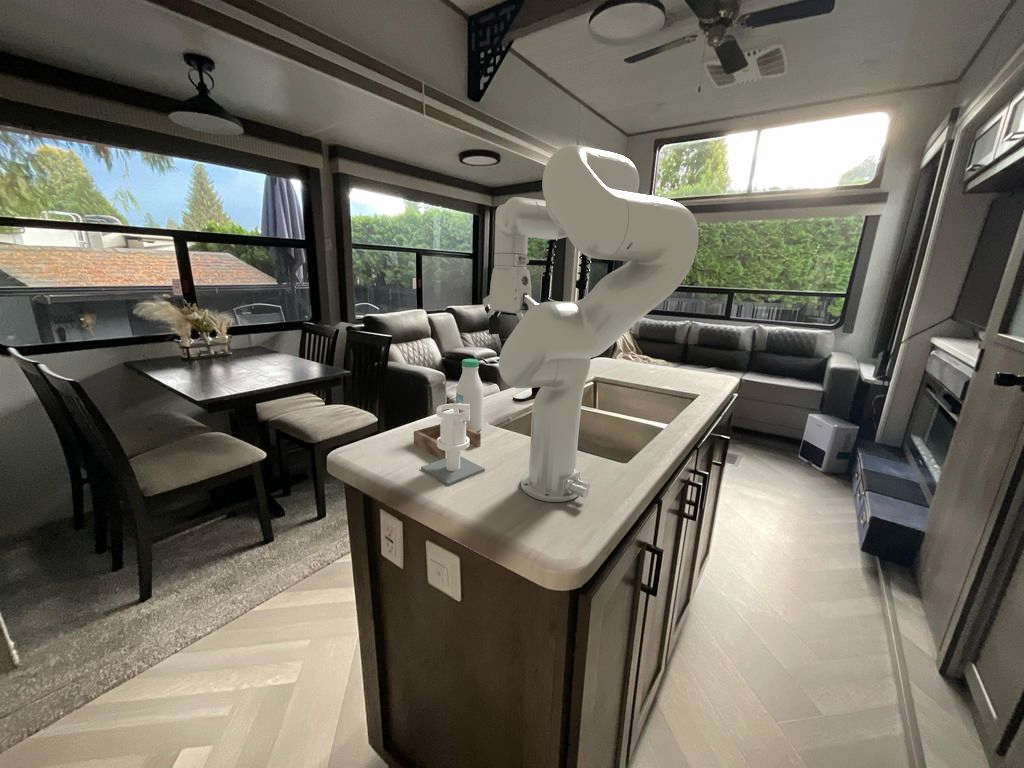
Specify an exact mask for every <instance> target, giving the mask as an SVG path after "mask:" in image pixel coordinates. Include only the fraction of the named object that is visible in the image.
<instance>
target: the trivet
mask: <svg viewBox="0 0 1024 768" xmlns="http://www.w3.org/2000/svg"><path fill="white" fill-rule="evenodd" d="M420 470H421V471H423V472H425V473H426V474H428V475H430V476H431V477H433V478H435V479H437V480H438V481H439V482H442V483H443V484H445V485H446V486H448V487H450V486H451V485H454V484H456V483H459V482H462V481H464V480H466V479H467V480H468V478H471V477H473V476H476V475H478V474H481V473H483V472H485V471H486V469H485V468H484V467H482V466H481V465H478V464H477V463H474V462H473V461H470V460H469V459H467V458H466V457H463V456H461V455H460V469H459V470H456V471H450V470H447V469H446V458H445V459H440V460H439V459H438V460H437V461H434V462H430V463H428V464H425V465H422V466H420Z"/></svg>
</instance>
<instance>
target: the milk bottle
mask: <svg viewBox="0 0 1024 768" xmlns="http://www.w3.org/2000/svg"><path fill="white" fill-rule="evenodd" d="M479 364H480V363H479V360H478V359H476V358H465V359H462V360H461V368H462V373H461V375H460V377H459V380H458V383H457V385H456V389H455V391H456V392H455V393H456V394H455V404H457V403H461V404H470V420H469V421H463V424H464V423H465V422H466V427H467V428H469V429H472V430H474V431H476V432H481V431H482V429H483V428H484V398H485V397H484V395H485V394H484V385H483V382H482V380H481V377H480V375H479V368H480V367H479ZM461 412H465V411H464V410H460V409H459V413H461Z"/></svg>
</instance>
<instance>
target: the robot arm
mask: <svg viewBox="0 0 1024 768" xmlns="http://www.w3.org/2000/svg"><path fill="white" fill-rule="evenodd" d="M541 184H542V193H543V198H544V199H537V198H528V197H521V196H517V197H516V196H514V197H510V198H509V199H508V200H506V202H505V203H503V204H499V206H497V208H496V210H495V222H494V223H495V225H494V226H495V227H494V228H495V229H494V256H493V257H494V258H493V260H494V262H493V263H494V266H493V267H494V268H492V273H491V278H490V279H491V280H490V287H489V295H487V296H485V297H484V298H483V299H482V303H483V305H484V311H485V313H486V317H487V318H488V335H490V336H492V335H493V336H494V335H499V334H500V328H501V327H500V326H501V323H500V322H501V321H500V320H501V318H500V317H499V316H500V314H501V313H510V314H515V315H516V316H517V318H518V320H519V321H518V322H517V324H516V325H515V327H514V328H513V330H512V332H511V333H510V334H509V335H508V337H507V339H506V341H505V342H504V344H503V346H502V348H501V351H500V353H499V357H498V358H499V359H498V371H499V374H500V377H501V378H502V380H503V381H504V383H505V384H506V385H508V386H510V387H511V388H514V389H534V388H539V390H538V391H537V393H536V395H535V398H534V400H533V403H532V410H531V411H532V413H531V425H530V426H531V427H530V445H529V446H530V448H529V464H528V472H527V471H526V473H524V474H523V475H522V477H521V479H520V486H521V489H522V491H523V492H524V493H526V495H528V496H529V497H531V498H533V499H536V500H540V501H543V502H548V503H552V502H553V503H561V502H567V501H571V500H573V499H576V498H577V497H581V498H583V499H586V498H587V497H588V495H589V492H590V491H589V489H590V487H591V483H590V482H587V481H586V480H585V481H584V480H581V478H580V476H581V470H578V469H576V467H577V456H578V444H579V432H580V422H581V414H582V411H581V410H582V401H583V395H584V390H585V386H586V384H587V379H588V375H589V372H590V369H591V363H592V362H591V360H592V359H591V358H595V357H598V356H600V355H601V354H603V353H604V352H605V351H607V350H608V349H609V348H610V347H611V346H612V345H613V344H615V343H616V342H617V341H618V340H619V339H620V338H621V337H623V336H624V335H625V334H626V333H627V332H628V331H629V330H631V328H632V327H634V326H635V325H636V324H637V323H638V322H639V321H640V320H641V319H642V318H644V317H645V316H646V315H647V314H648V313H650V312H651V311H653V310H654V309H655V308H656V307H657V306H659V305H660V304H661V303H662V302H664V301H665V300H666V299H667V298H668V297H670V296H671V295H672V294H673V292H675V290H676V289H678V288H679V286H680V285H681V283H682V282H683V281H684V280H685V278H686V277H687V275H688V274H689V272H690V271H691V268H692V265H693V263H694V261H695V259H696V255H697V250H698V245H699V226H698V223H697V219H696V218H695V216H694V214H693V213H692V212H691V210H690V209H688V208H687V207H685V205H683V204H681V203H679V202H676V201H674V200H671V199H668V198H665V197H660V196H655V195H650V194H649V195H648V194H643V193H639V192H638V191H639V188H640V175H639V172H638V169H637V167H636V166H635V164H634V163H633V162H632V161H631V160H630V159H629V158H627V157H626V156H624V155H621V154H618V153H616V152H613V151H612V152H611V151H608V150H602V149H598V148H593V147H589V146H585V145H579V144H567V145H564V146H562V147H560V148H558V149H557V150H556V151H555V152H554V153H553V154H552V155H551V156H550V158H549V159H548V161H547V163H546V165H545V167H544V169H543V174H542V183H541ZM529 238H533V239H540V240H541V239H542V240H560V239H564V238H568V239H569V241H570V242H571V244H572V245H573V247H574V248H575V249H576V250H577V251H579V252H580V253H581V254H583V255H584V256H586V257H588V258H592V259H595V260H596V259H597V260H609V261H623V262H626V263H625V264H623V265H622V266H620V267H618V268H617V269H615V270H613V271H611V272H609V273H608V274H606V275H605V276H604V277H602V278H601V279H600V280H599V281H598V282H597V283H596V284H595V286H594V287H593V288H592V289H591V290H590V292H588V293H587V294H586V295H585V297H583V298H582V299H579V300H573V301H544V302H540V303H538V302H537V301H536V300H535V299H533V298H532V281H531V280H532V279H531V274H530V270H529V269H527V266H528V265H527V264H529V262H530V258H529V257H528V244H529V243H528V241H529V240H528V239H529Z"/></svg>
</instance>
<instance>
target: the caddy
mask: <svg viewBox="0 0 1024 768" xmlns="http://www.w3.org/2000/svg"><path fill="white" fill-rule="evenodd" d="M466 436H467V437H468V438H469V440H470V441H469V445H472V446H474V447H476V448H479V447H481V441H482V440H481V438H482V437H481V436H482V435H481V432H480V431H478V432H476V431H474V430H472V429H469V428H467V427H466ZM439 437H440V423H439V424H436V425H431V426H428V427H424V428H422V429H417V430H413V445H415V446H417V447H419V448H420V449H421V450H424V451H426V452H427V453H429V454H431V455H434V456H435V457H437V458H439V459H440V460H442V459H445V458H446V451H444V450H441V449H439V448H438V447H437V439H438V438H439Z"/></svg>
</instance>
